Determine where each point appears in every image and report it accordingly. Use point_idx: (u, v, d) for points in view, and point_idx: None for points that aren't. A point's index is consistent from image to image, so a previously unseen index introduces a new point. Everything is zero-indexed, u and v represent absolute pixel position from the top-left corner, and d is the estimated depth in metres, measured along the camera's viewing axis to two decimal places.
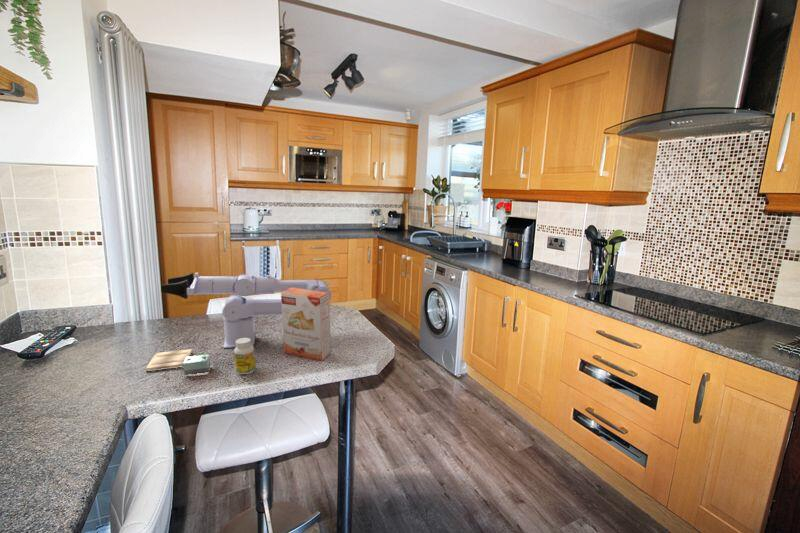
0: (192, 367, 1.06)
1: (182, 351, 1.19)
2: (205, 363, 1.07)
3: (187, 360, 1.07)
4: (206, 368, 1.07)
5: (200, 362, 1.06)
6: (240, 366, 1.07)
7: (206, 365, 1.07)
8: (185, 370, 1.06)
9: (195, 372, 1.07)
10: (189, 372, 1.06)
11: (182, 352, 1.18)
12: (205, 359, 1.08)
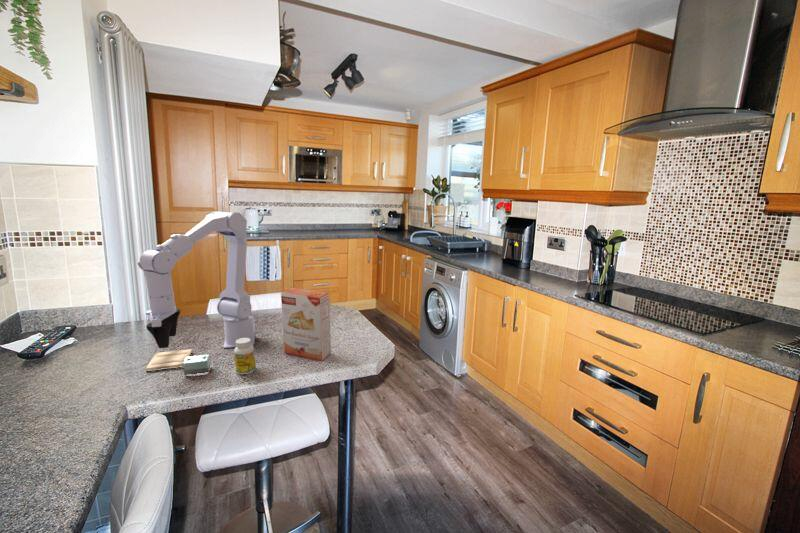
0: (192, 367, 1.06)
1: (182, 351, 1.19)
2: (205, 363, 1.07)
3: (187, 360, 1.07)
4: (206, 368, 1.07)
5: (200, 362, 1.06)
6: (240, 366, 1.07)
7: (206, 365, 1.07)
8: (185, 370, 1.06)
9: (195, 372, 1.07)
10: (189, 372, 1.06)
11: (182, 352, 1.18)
12: (205, 359, 1.08)
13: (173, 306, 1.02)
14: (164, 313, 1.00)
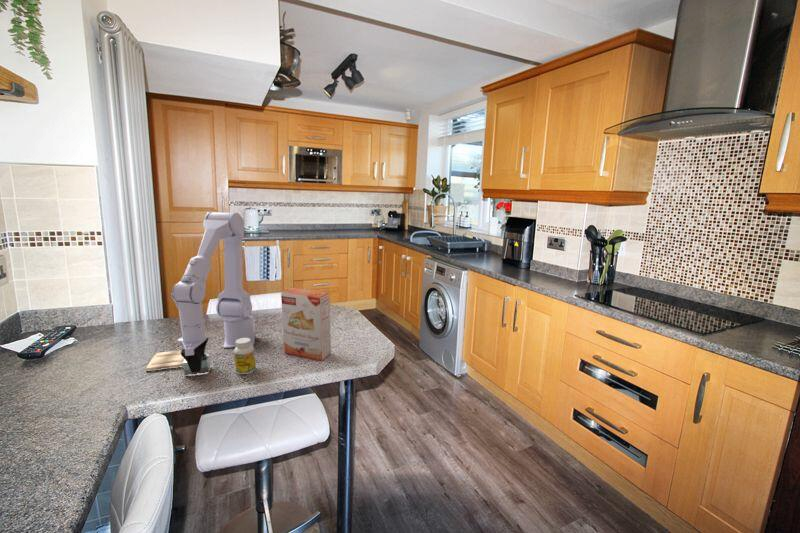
0: None
1: None
2: (205, 363, 1.07)
3: None
4: (206, 368, 1.07)
5: None
6: (240, 366, 1.07)
7: (206, 365, 1.07)
8: (185, 370, 1.06)
9: (195, 372, 1.07)
10: (189, 372, 1.06)
11: None
12: (205, 359, 1.08)
13: (203, 334, 1.06)
14: (195, 341, 1.04)
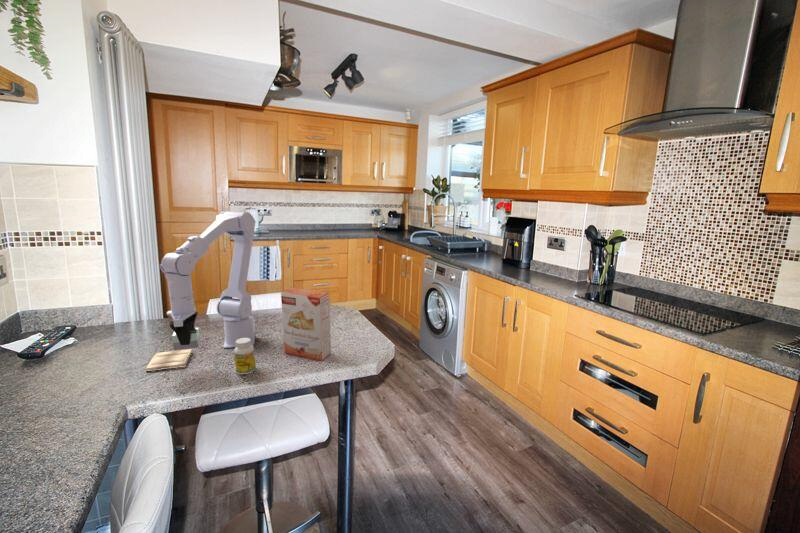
0: None
1: (182, 351, 1.19)
2: (194, 336, 1.07)
3: None
4: (195, 341, 1.07)
5: None
6: (240, 366, 1.07)
7: (195, 338, 1.07)
8: (174, 342, 1.05)
9: (184, 345, 1.06)
10: (178, 344, 1.06)
11: (182, 352, 1.18)
12: (194, 332, 1.07)
13: (193, 307, 1.06)
14: (185, 313, 1.04)
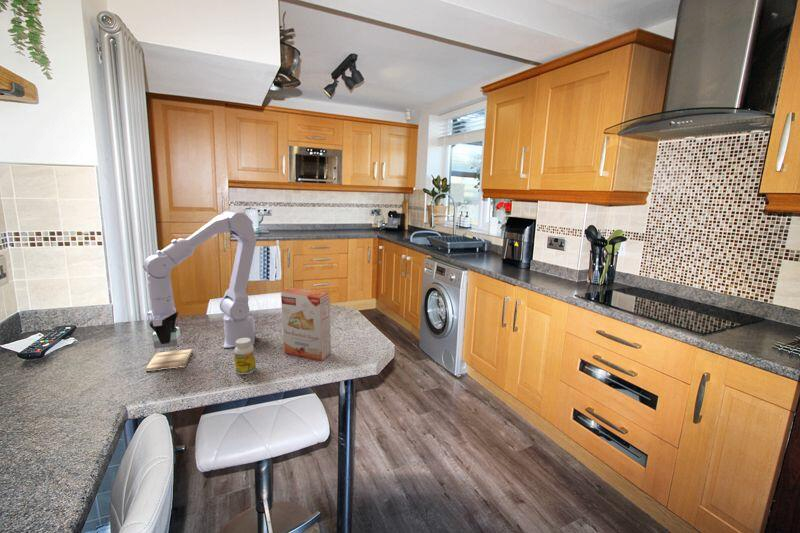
0: None
1: (182, 351, 1.19)
2: (174, 335, 1.11)
3: None
4: (175, 339, 1.12)
5: None
6: (240, 366, 1.07)
7: (175, 337, 1.11)
8: (154, 341, 1.10)
9: None
10: (158, 343, 1.10)
11: (182, 352, 1.18)
12: (174, 331, 1.12)
13: (173, 307, 1.11)
14: (164, 313, 1.08)
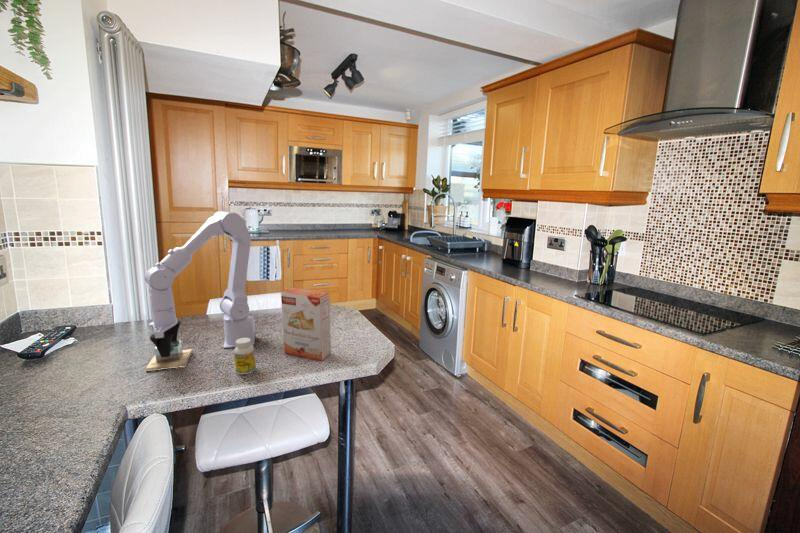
0: None
1: (182, 351, 1.19)
2: (176, 348, 1.12)
3: None
4: (177, 353, 1.13)
5: (171, 347, 1.12)
6: (240, 366, 1.07)
7: (177, 350, 1.12)
8: (156, 355, 1.11)
9: (166, 357, 1.12)
10: (160, 357, 1.11)
11: None
12: (176, 345, 1.13)
13: (174, 318, 1.11)
14: (166, 325, 1.09)
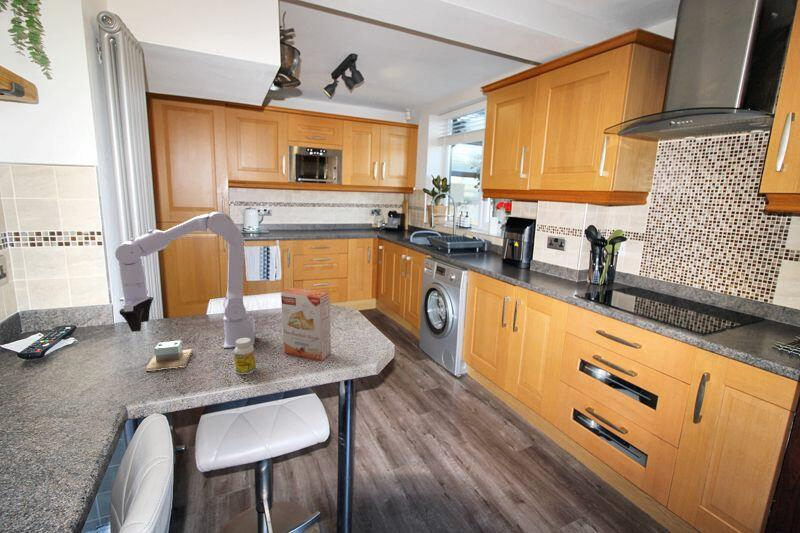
0: (163, 352, 1.11)
1: (182, 351, 1.19)
2: (176, 348, 1.12)
3: (159, 346, 1.12)
4: (177, 353, 1.13)
5: (171, 347, 1.12)
6: (240, 366, 1.07)
7: (177, 350, 1.12)
8: (156, 355, 1.11)
9: (166, 357, 1.12)
10: (160, 357, 1.11)
11: None
12: (176, 345, 1.13)
13: (145, 293, 1.12)
14: (136, 299, 1.10)
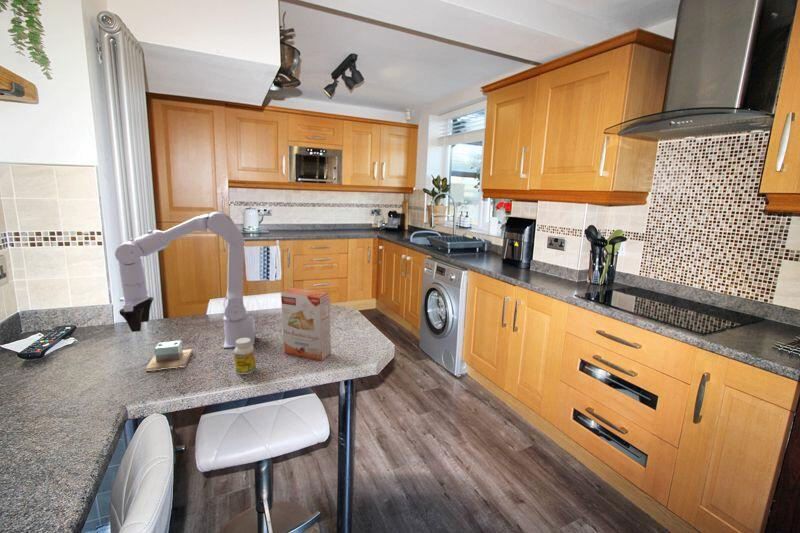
0: (163, 352, 1.11)
1: (182, 351, 1.19)
2: (176, 348, 1.12)
3: (159, 346, 1.12)
4: (177, 353, 1.13)
5: (171, 347, 1.12)
6: (240, 366, 1.07)
7: (177, 350, 1.12)
8: (156, 355, 1.11)
9: (166, 357, 1.12)
10: (160, 357, 1.11)
11: None
12: (176, 345, 1.13)
13: (145, 293, 1.12)
14: (136, 300, 1.10)
